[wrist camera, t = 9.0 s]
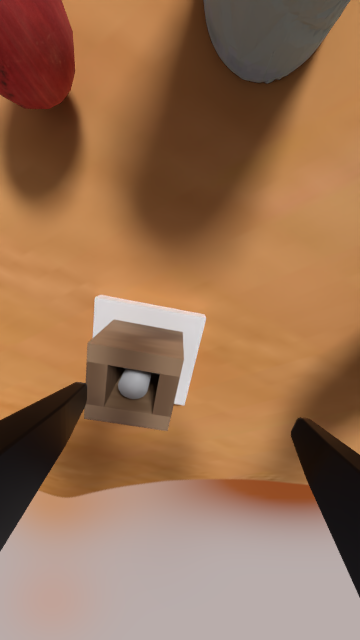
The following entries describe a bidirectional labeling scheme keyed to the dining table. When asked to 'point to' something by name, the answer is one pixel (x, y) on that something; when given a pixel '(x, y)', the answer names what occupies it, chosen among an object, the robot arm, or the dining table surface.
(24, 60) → the onion
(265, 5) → the grey-blue tapered cup
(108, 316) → the post base
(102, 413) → the collar
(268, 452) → the dining table surface
